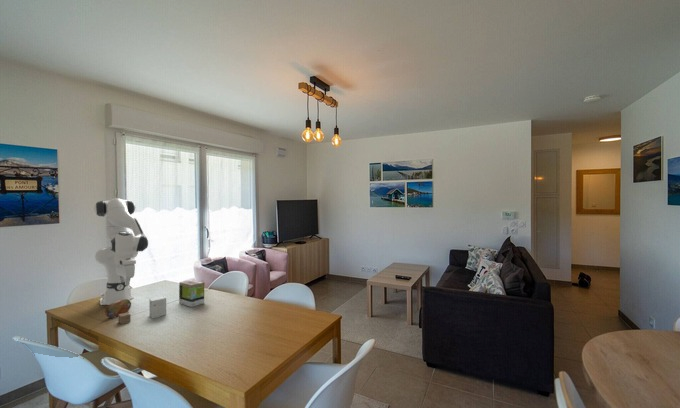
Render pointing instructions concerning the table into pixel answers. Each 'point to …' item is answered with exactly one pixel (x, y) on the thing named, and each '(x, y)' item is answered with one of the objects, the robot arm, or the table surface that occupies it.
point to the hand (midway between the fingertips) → (124, 283)
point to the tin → (117, 308)
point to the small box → (157, 307)
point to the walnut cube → (124, 318)
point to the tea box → (191, 293)
